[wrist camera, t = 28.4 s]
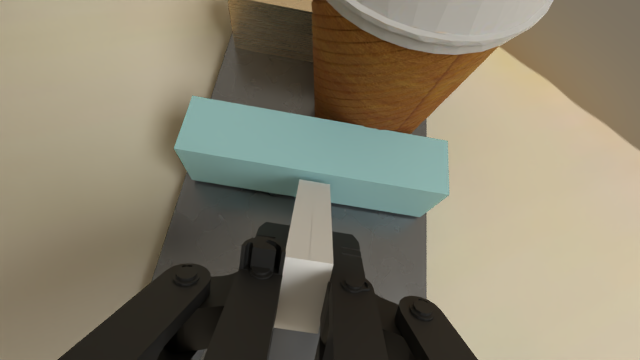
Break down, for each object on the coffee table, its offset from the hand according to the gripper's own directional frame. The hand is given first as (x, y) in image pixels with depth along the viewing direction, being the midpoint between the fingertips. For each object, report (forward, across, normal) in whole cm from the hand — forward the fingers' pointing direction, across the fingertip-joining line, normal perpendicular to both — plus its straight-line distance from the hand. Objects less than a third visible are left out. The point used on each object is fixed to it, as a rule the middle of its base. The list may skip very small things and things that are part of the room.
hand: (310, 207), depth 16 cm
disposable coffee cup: (+7, +2, +4) cm, 9 cm away
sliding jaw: (+4, 0, 0) cm, 4 cm away
